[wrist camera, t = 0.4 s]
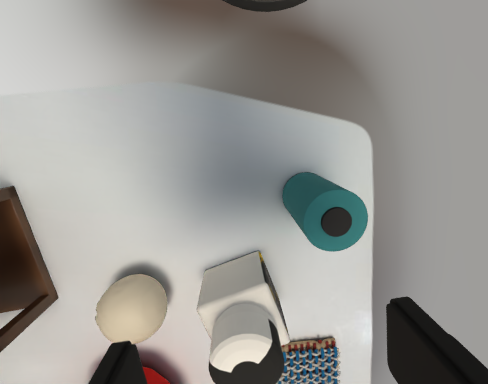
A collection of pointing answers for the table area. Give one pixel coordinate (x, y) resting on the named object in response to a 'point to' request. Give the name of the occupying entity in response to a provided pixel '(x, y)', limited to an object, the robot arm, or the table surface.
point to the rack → (20, 269)
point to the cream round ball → (132, 309)
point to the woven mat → (310, 362)
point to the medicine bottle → (243, 322)
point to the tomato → (154, 377)
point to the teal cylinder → (325, 211)
